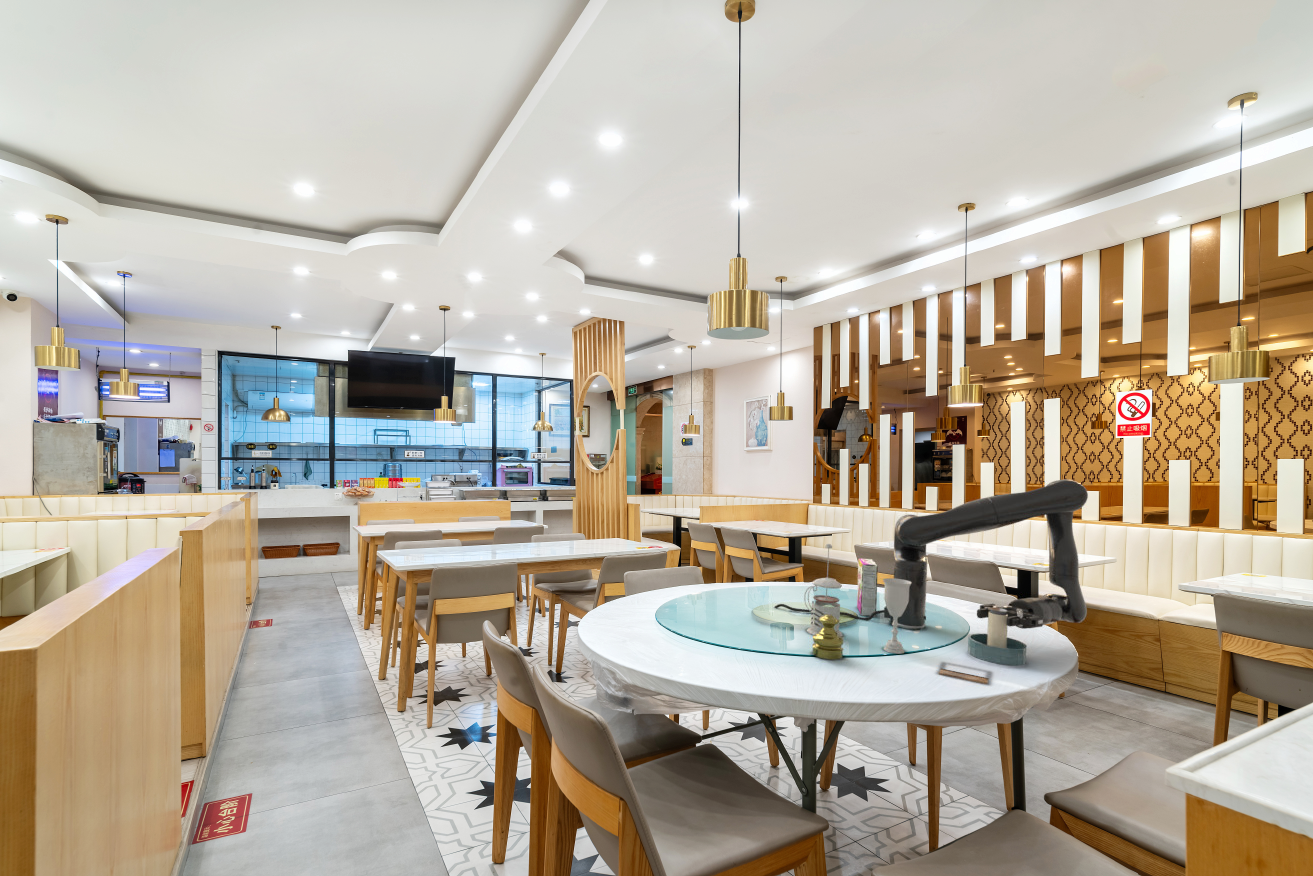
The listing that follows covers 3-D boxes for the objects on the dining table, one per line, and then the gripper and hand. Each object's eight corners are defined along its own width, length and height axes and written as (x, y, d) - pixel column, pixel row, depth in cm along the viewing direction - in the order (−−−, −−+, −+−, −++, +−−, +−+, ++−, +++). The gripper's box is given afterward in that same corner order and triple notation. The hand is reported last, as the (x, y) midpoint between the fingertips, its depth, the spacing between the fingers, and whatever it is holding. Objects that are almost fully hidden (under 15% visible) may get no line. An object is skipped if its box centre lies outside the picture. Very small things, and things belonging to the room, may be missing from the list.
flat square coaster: (938, 674, 144) (938, 672, 144) (943, 662, 153) (943, 661, 153) (987, 684, 139) (987, 682, 139) (989, 672, 148) (989, 670, 148)
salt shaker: (848, 656, 154) (849, 616, 154) (834, 662, 148) (836, 621, 148) (821, 648, 159) (822, 609, 159) (806, 654, 153) (808, 614, 153)
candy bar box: (855, 607, 206) (857, 558, 206) (871, 608, 205) (873, 559, 205) (859, 615, 195) (862, 563, 195) (876, 617, 194) (878, 565, 194)
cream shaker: (986, 656, 157) (988, 609, 158) (987, 652, 161) (988, 606, 161) (1005, 660, 155) (1007, 612, 155) (1006, 656, 159) (1008, 609, 159)
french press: (829, 640, 167) (834, 547, 167) (794, 629, 175) (798, 541, 176) (849, 634, 173) (853, 545, 174) (814, 624, 182) (818, 539, 182)
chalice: (894, 656, 156) (897, 584, 156) (873, 647, 162) (876, 579, 162) (914, 653, 159) (917, 583, 160) (893, 645, 165) (896, 577, 166)
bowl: (965, 659, 156) (966, 641, 156) (969, 647, 167) (970, 630, 167) (1025, 671, 149) (1026, 652, 149) (1025, 657, 160) (1026, 640, 161)
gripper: (1004, 592, 172) (967, 596, 164) (1058, 605, 159) (1021, 610, 151) (1003, 619, 172) (966, 625, 164) (1057, 634, 159) (1020, 641, 151)
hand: (993, 617), depth 157 cm, fingers open, 7 cm apart
